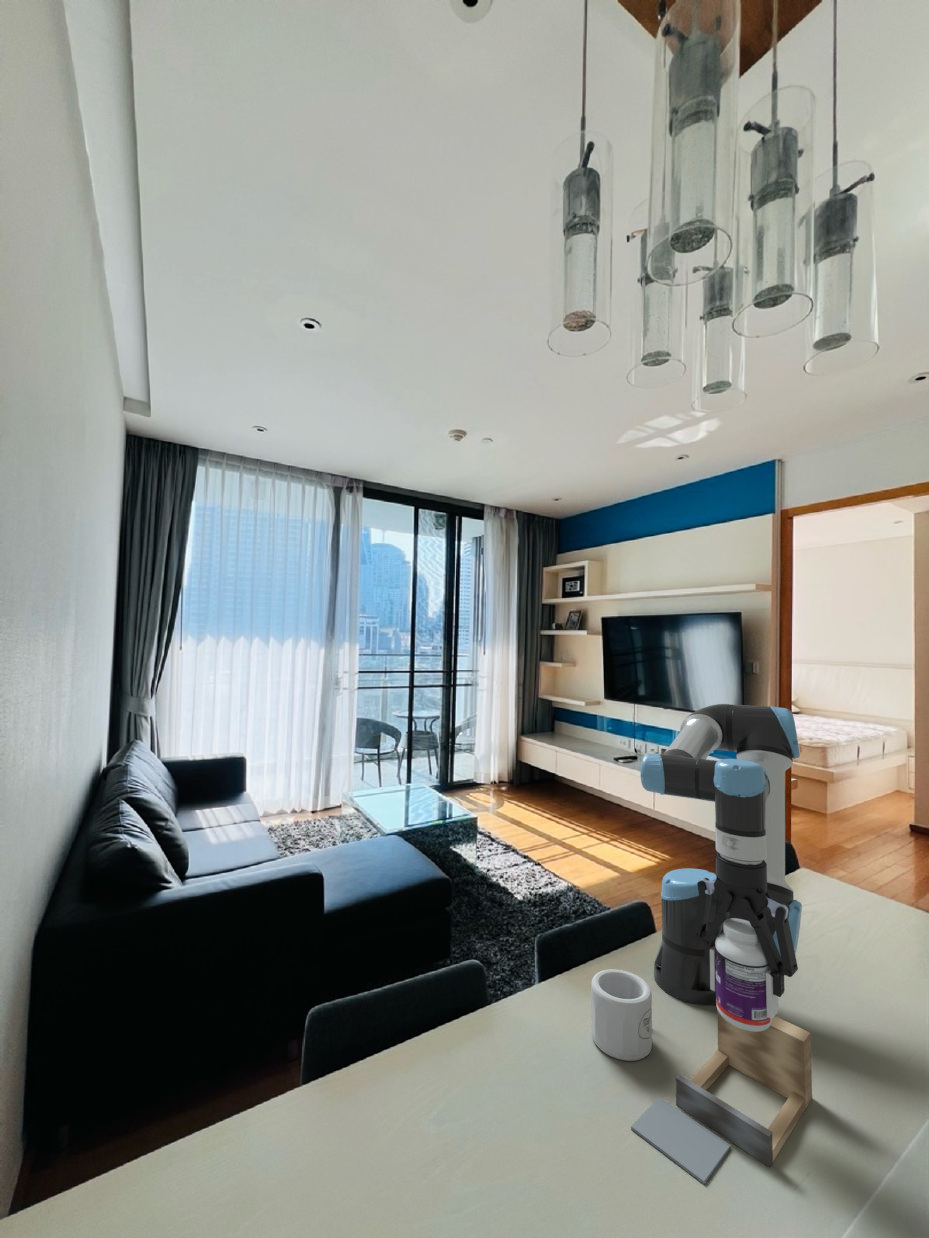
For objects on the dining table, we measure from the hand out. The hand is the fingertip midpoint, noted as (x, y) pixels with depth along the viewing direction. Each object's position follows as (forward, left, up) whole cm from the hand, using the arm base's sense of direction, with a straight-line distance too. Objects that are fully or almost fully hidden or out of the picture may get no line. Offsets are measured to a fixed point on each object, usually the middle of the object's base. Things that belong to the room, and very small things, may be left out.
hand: (743, 999), depth 87 cm
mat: (-3, -15, -15) cm, 22 cm away
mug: (-20, -2, -16) cm, 26 cm away
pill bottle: (0, 0, -3) cm, 3 cm away
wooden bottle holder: (0, -1, -15) cm, 15 cm away
